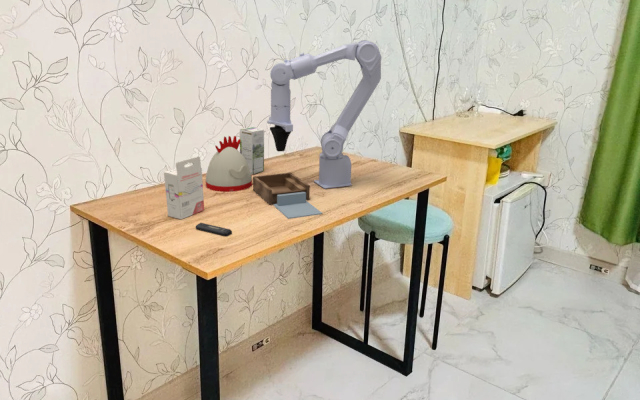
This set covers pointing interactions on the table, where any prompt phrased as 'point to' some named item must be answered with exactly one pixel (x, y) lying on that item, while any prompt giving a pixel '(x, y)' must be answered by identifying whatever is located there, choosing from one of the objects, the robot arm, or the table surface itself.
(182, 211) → the ink cartridge box
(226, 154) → the kitchen timer
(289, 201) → the lid
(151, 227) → the table surface
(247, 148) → the syrup box
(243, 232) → the table surface
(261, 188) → the box
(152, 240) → the table surface
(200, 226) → the usb stick
